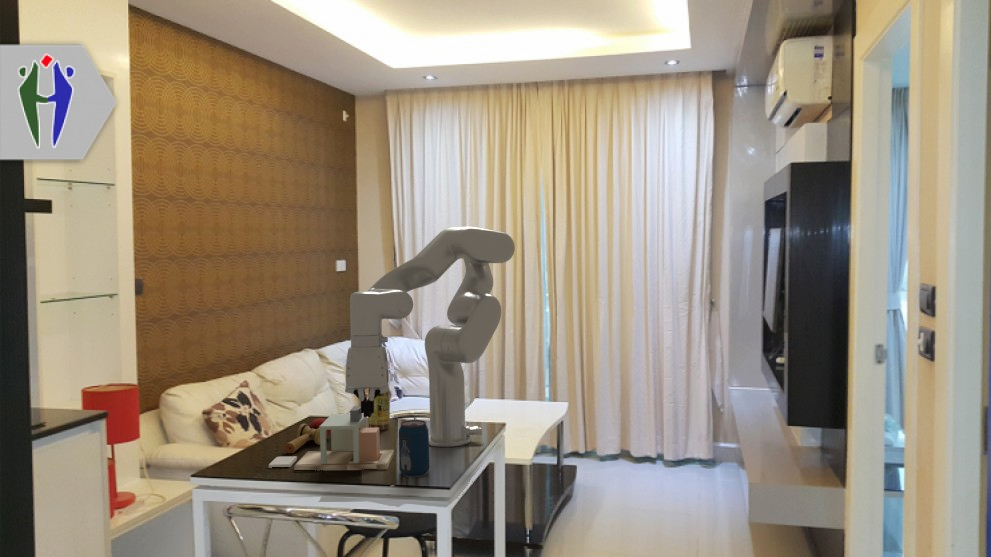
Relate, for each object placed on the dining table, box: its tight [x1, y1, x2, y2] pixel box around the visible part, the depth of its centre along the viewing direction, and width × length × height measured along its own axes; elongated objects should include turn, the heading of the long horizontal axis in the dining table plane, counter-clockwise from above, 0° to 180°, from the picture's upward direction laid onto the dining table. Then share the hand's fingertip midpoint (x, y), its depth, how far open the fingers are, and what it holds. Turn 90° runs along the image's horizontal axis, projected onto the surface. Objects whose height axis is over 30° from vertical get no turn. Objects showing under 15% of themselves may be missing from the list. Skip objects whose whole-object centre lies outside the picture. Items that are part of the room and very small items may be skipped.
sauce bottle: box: [367, 387, 391, 431], centre depth 219 cm, size 7×6×20 cm
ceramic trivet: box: [268, 455, 298, 469], centre depth 185 cm, size 5×7×1 cm
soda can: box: [398, 419, 430, 478], centre depth 174 cm, size 7×7×12 cm
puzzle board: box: [293, 449, 395, 472], centre depth 185 cm, size 22×13×1 cm, turn 90°
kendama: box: [284, 417, 331, 454], centre depth 202 cm, size 8×6×18 cm
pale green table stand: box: [319, 405, 368, 464], centre depth 185 cm, size 9×13×12 cm
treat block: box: [359, 427, 381, 461], centre depth 185 cm, size 5×5×8 cm
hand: (367, 416), depth 184 cm, fingers closed
